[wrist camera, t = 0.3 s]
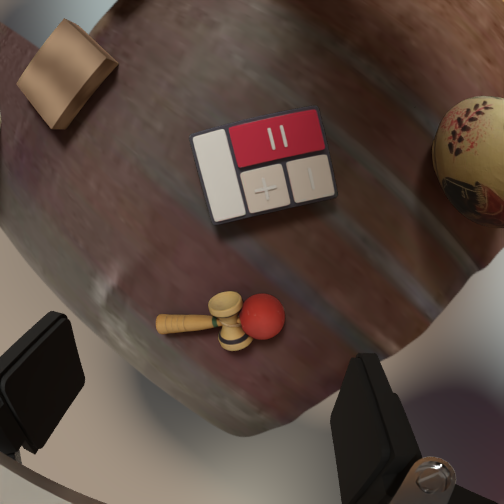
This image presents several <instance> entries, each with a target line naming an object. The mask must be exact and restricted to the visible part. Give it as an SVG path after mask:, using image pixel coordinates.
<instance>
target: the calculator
mask: <svg viewBox="0 0 504 504" xmlns="http://www.w3.org/2000/svg"><path fill="white" fill-rule="evenodd" d="M189 141H190V145H191V149H192V152H193V156H194V160H195V164H196V168H197V171H198V175H199V179H200V183H201V186H202V190H203V194H204V197H205V201H206V205H207V208H208V212H209V215H210V219H211V222H212V224H213V225H220V224H224V223H228V222H232V221H236V220H240V219H244V218H249V217H253V216H257V215H261V214H266V213H270V212H274V211H279V210H283V209H288V208H292V207H296V206H301V205H305V204H310V203H315V202H319V201H324V200H328V199H333V198H336V197H337V196H338V192H337V186H336V181H335V176H334V171H333V166H332V162H331V157H330V152H329V148H328V143H327V139H326V135H325V130H324V126H323V122H322V118H321V114H320V110H319V107H318V106H315V105H314V106H308V107H302V108H297V109H291V110H286V111H281V112H276V113H272V114H267V115H262V116H258V117H254V118H249V119H245V120H241V121H237V122H233V123H229V124H225V125H221V126H218V127H214V128H210V129H207V130H203V131H200V132H196V133H193V134H191V135H190V136H189Z"/></svg>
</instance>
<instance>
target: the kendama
mask: <svg viewBox="0 0 504 504" xmlns="http://www.w3.org/2000/svg"><path fill="white" fill-rule="evenodd" d="M208 307H209V311H210V313H211V314H212V315H213V316H207V315H168V314H160V315H158V316H157V319H156V328H157V331H158V332H159V333H160V334H168V333H176V332H187V331H197V330H204V329H209V328H214V327H218V326H222V329H221V330H220V332H219V334H218V339H219V342H220V344H221V346H222V347H223V348H224V349H226V350H230V351H236V350H240V349H243V348H245V347H246V346H248V345H249V344H250V343H251V341H252V340H253V338H255V339H260V340H264V339H269V338H272V337H274V336H275V335H277V334H278V333H279V332H280V331H281V329H282V328H283V325H284V322H285V312H284V307H283V306H282V304H281V303H280V302H279V300H278V299H276V298H275V297H274V296H272V295H269V294H255V295H253V296H251V297H249V298H248V299H247V300H245V302H244V303H243V301H242V298H241V296H240V295H239V294H238V293H236V292H232V291H228V292H222V293H219V294H217V295H215V296H214V297H213V298H211V300H210V301H209V303H208Z"/></svg>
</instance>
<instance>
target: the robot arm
mask: <svg viewBox="0 0 504 504" xmlns="http://www.w3.org/2000/svg"><path fill="white" fill-rule="evenodd" d="M84 383H85V376H84V372H83V369H82V366H81V362H80V358H79V354H78V351H77V347H76V343H75V339H74V335H73V330H72V326H71V322H70V321H69V319H68V318H67V316H66V315H65V314H62V313H58V312H54V311H50V312H49V313H47V314H46V315H45V316H44V317H43V318H42V319H41V320H39V321H38V322H37V323H36V324H35V325H34V326H33V327H32V328H31V329H29V330H28V331H27V332H26V333H25V334H24V335H23V336H22V337H21V338H20V339H19V340H18V341H17V342H15V343H14V344H13V345H12V346H11V347H10V348H9V349H8V350H7V351H6V352H5V353H4V354H3V355H2V356H1V357H0V504H106V503H103V502H100V501H98V500H95V499H93V498H90V497H88V496H85V495H83V494H81V493H78V492H76V491H73V490H71V489H69V488H67V487H65V486H62V485H60V484H58V483H56V482H54V481H52V480H50V479H48V478H46V477H44V476H42V475H40V474H38V473H36V472H34V471H33V470H31V469H29V468H27V467H25V466H24V465H22V462H21V456H20V451H19V449H20V447H21V446H23V448H24V449H26V450H28V451H29V452H31V453H33V454H36V452H37V451H38V449H41V448H42V447H43V446H44V445H45V443H46V442H47V440H48V439H49V437H50V436H51V434H52V433H53V431H54V429H55V428H56V426H57V425H58V423H59V422H60V420H61V419H62V417H63V416H64V414H65V413H66V411H67V410H68V408H69V406H70V405H71V404H72V402H73V401H74V399H75V398H76V396H77V395H78V393H79V392H80V390H81V389H82V387H83V386H84ZM330 424H331V430H332V437H333V443H334V450H335V456H336V464H337V471H338V478H339V486H340V493H341V501H342V504H498V503H496V502H494V501H492V500H490V499H487V498H485V497H482V496H480V495H478V494H476V493H474V492H471V491H469V490H467V489H465V488H463V487H461V486H459V485H456V484H455V482H456V475H455V472H454V470H453V468H452V466H451V465H450V464H449V463H448V462H446V461H445V460H443V459H441V458H437V457H425V458H422V455H421V452H420V450H419V447H418V444H417V442H416V439H415V436H414V434H413V431H412V429H411V426H410V424H409V421H408V419H407V416H406V413H405V411H404V408H403V406H402V404H401V401H400V399H399V397H398V395H397V394H396V393H393V392H392V389H391V387H390V385H389V382H388V380H387V377H386V375H385V373H384V370H383V368H382V365H381V363H380V361H379V358H378V356H377V355H376V354H375V353H359V354H357V356H356V358H351V360H350V362H349V365H348V368H347V371H346V374H345V377H344V380H343V383H342V386H341V389H340V392H339V395H338V398H337V400H336V403H335V405H334V408H333V411H332V413H331V420H330Z"/></svg>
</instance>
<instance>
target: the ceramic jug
mask: <svg viewBox="0 0 504 504" xmlns="http://www.w3.org/2000/svg"><path fill="white" fill-rule="evenodd" d="M414 108H415V107H414ZM432 160H433V168H434V170H435V173H436V175H437V178H438V180H439V183H440V185H441V188H442V189H443V191H444V193H445V195H446V196H447V198H448V199H449V201H450V202H451V203H452V205H453V206H454V207H455V208H456V209H457V210H458V211H459V212H460V213H461V214H462V215H464V216H465V217H466V218H468V219H470V220H471V221H473V222H475V223H477V224H480V225H483V226H487V227H492V228H504V99H503V98H499V97H492V96H479V97H473V98H469V99H466V100H463V101H462V102H460V103H459V104H457V105H456V106H454V107H453V108H451V109H450V110H449V111H448V112H447V113H446V114H445V116H444V118H443V119H442V121H441V123H440V125H439V127H438V130H437V133H436V136H435V139H434V141H433V145H432Z"/></svg>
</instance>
